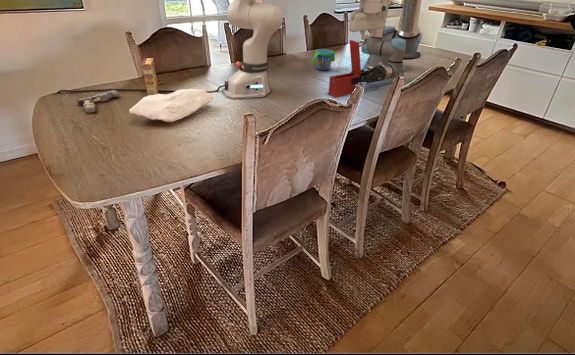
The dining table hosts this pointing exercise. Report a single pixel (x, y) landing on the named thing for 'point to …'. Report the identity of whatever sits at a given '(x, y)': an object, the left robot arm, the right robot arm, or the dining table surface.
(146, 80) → the candy box
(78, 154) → the dining table surface
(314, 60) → the snack cup
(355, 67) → the lid
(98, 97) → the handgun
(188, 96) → the crumpled cloth
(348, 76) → the chest
